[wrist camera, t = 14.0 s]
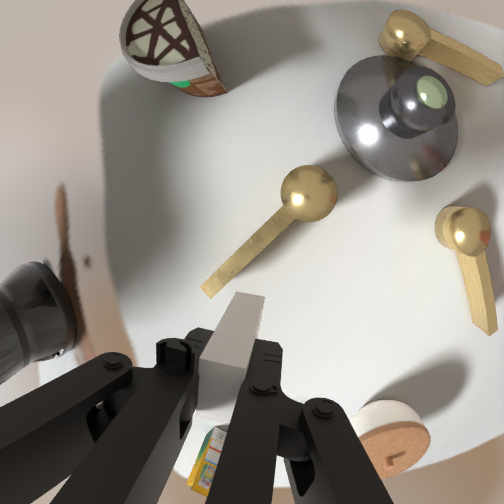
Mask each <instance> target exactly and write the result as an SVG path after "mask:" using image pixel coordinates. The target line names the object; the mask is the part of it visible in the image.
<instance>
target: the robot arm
mask: <svg viewBox="0 0 504 504" xmlns="http://www.w3.org/2000/svg"><path fill="white" fill-rule="evenodd" d="M264 299H265V297H263V296H258V295H252V294H247V293H242V292H236V293H235V295H234V297H233V299H232V300H231V302H230V304H229V306H228V308H227V309H226V311H225V313H224V315H223V317H222V318H221V320H220V322H219V324H218V326H217V327H216V329H215V331H211V330H207V329H203V328H196V329H194V330H192V331H190V332H189V333H188V334H187V336H186V337H185V339H184V340H183V339H178V338H167V339H163V340H160V341H159V342H157V343H156V362H157V364H156V365H155V366H154V368H141V367H133V366H132V362H131V359H130V358H128V356H126V355H124V354H121V353H117V352H108V353H104V354H101V355H99V356H97V357H95V358H93V359H92V360H90V361H88V362H86V363H84V364H82V365H80V366H78V367H77V368H75V369H73V370H71V371H69V372H67V373H65V374H63V375H62V376H60V377H58V378H56V379H54V380H52V381H50V382H48V383H46V384H44V385H43V386H41V387H39V388H37V389H35V390H33V391H31V392H29V393H27V394H25V395H23V396H21V397H19V398H18V399H16V400H14V401H12V402H10V403H8V404H6V405H4V406H2V407H0V504H30V503H32V502H33V501H35V500H36V499H38V498H39V497H41V496H42V495H43V494H45V493H46V492H48V491H49V490H51V489H52V488H53V487H55V486H56V485H58V484H59V483H60V482H62V481H63V480H64V479H66V478H67V477H68V476H70V475H71V474H72V475H71V476H70V477H69V479H68V480H67V481H66V483H65V484H64V485H63V487H62V488H61V489H60V491H59V492H58V493H57V495H56V496H55V497H54V499H53V500H52V501H51V503H50V504H157V502H158V500H159V497H160V495H161V493H162V491H163V489H164V486H165V484H166V482H167V480H168V478H169V476H170V473H171V471H172V469H173V467H174V464H175V462H176V460H177V458H178V455H179V453H180V451H181V449H182V446H183V444H184V442H185V440H186V437H187V435H188V433H189V431H190V428H191V426H192V416H193V413H194V411H195V409H196V416H198V417H202V418H206V419H210V420H214V421H218V422H223V423H227V424H229V427H228V431H227V434H226V437H225V441H224V444H223V447H222V451H221V454H220V457H219V461H218V464H217V467H216V470H215V474H214V477H213V480H212V483H211V486H210V490H209V493H208V496H207V499H206V502H205V504H271V502H272V494H273V485H274V476H275V467H276V457H277V455H278V456H281V457H283V458H284V463H285V467H286V471H287V475H288V478H289V482H290V486H291V490H292V494H293V497H294V501H295V504H394V503H393V501H392V499H391V498H390V496H389V494H388V492H387V490H386V488H385V487H384V484H383V483H382V481H381V479H380V477H379V475H378V473H377V471H376V469H375V468H374V466H373V464H372V462H371V460H370V458H369V456H368V454H367V453H366V451H365V449H364V447H363V445H362V443H361V441H360V440H359V438H358V436H357V434H356V432H355V430H354V428H353V427H352V425H351V423H350V421H349V419H348V417H347V416H346V414H345V412H344V410H343V409H342V407H341V406H340V405H339V404H338V403H336V402H334V401H333V400H330V399H326V398H313V399H310V400H308V401H306V402H305V404H302V403H299V402H297V401H294V400H292V399H290V398H289V397H287V396H286V395H285V394H284V393H283V392H282V390H281V386H280V381H281V368H282V353H283V349H282V348H281V346H280V345H279V343H277V342H271V341H266V340H260V339H257V338H258V332H259V327H260V321H261V316H262V310H263V304H264ZM75 340H76V321H75V316H74V312H73V309H72V305H71V303H70V300H69V298H68V296H67V293H66V291H65V289H64V288H63V286H62V284H61V283H60V281H59V280H58V278H57V277H56V276H55V274H54V273H53V272H52V271H51V270H50V269H49V268H48V267H46V266H45V265H43V264H41V263H39V262H30V263H26V264H23V265H21V266H19V267H17V268H16V269H15V270H14V271H13V272H12V273H10V275H8V276H7V277H6V278H5V279H4V280H3V281H2V282H1V283H0V385H1V384H2V383H3V382H5V381H6V380H8V379H9V378H10V377H12V376H13V375H14V374H16V373H17V372H19V371H20V370H21V369H23V368H24V367H26V366H27V365H29V364H30V363H34V362H40V361H45V360H50V359H54V358H58V357H61V356H62V355H64V354H65V353H66V352H68V351H69V350H70V349H71V348H72V347H73V345H74V343H75ZM100 402H102V403H101V404H100V405H97V404H99V403H100ZM96 405H97V406H96Z"/></svg>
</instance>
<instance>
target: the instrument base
mask: <svg viewBox="0 0 504 504" xmlns="http://www.w3.org/2000/svg"><path fill="white" fill-rule="evenodd" d="M379 43H380V46H381V48H382V49H383V50H384V52H385V53H386V54H387V55H389V56H384V55H380V56H373V57H369V58H366V59H363V60H361V61H359V62H358V63H356V64H355V65H353V66H352V67H351V68H350V69H349V70H348V71H347V73H346V74H345V75H344V77H343V79H342V81H341V83H340V86H339V88H338V91H337V94H336V98H335V103H334V114H335V121H336V126H337V129H338V132H339V134H340V137H341V139H342V141H343V143H344V144H345V146H346V148H347V149H348V151H349V152H350V153H351V154H352V156H353V157H354V158H355V159H356V160H357V161H358V162H359V163H360V164H361V165H362V166H364V167H365V168H366V169H367V170H369V171H371V172H372V173H374V174H376V175H378V176H380V177H382V178H385V179H388V180H392V181H397V182H411V181H420V180H425V179H428V178H430V177H433V176H435V175H436V174H438V173H439V172H441V171H442V170H443V169H444V168H445V167H446V166H447V164H448V163H449V162H450V160H451V158H452V157H453V154H454V152H455V149H456V145H457V139H458V125H457V119H456V115H455V100H454V96H453V93H452V91H451V89H450V87H449V85H448V84H447V82H446V81H445V80H444V79H443V78H442V77H441V76H440V75H439V74H438V73H436V72H435V71H433V70H431V69H429V68H426V67H422V66H418V65H416V64H414V63H412V62H410V61H411V60H413V59H414V58H415V56H416V55H420V56H423V57H425V58H428V59H430V60H433V61H435V62H438V63H440V64H442V65H445V66H447V67H449V68H451V69H453V70H456V71H458V72H460V73H462V74H464V75H466V76H468V77H470V78H472V79H474V80H476V81H478V82H479V83H481V84H483V85H485V86H487V85H489V84H491V83H493V82H495V81H496V80H498V79H500V78H502V77H504V76H503V70H502V66H500V65H499V64H497V63H495V62H494V61H492V60H490V59H489V58H487V57H485V56H484V55H482V54H480V53H478V52H477V51H475V50H473V49H471V48H469V47H467V46H465V45H463V44H461V43H459V42H457V41H455V40H453V39H451V38H449V37H447V36H445V35H442V34H440V33H438V32H436V31H433V30H431V29H429V27H428V25H427V24H426V23H425V21H424V20H423V19H421V18H420V17H419V16H418V15H416V14H414V13H412V12H410V11H407V10H395V11H393V12H392V13H391V15H390V17H389V19H388V21H387V23H386V25H385V27H384V29H383V31H382V33H381V35H380V37H379Z"/></svg>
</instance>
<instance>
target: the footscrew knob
mask: <svg viewBox="0 0 504 504" xmlns="http://www.w3.org/2000/svg"><path fill="white" fill-rule="evenodd" d="M281 199H282V203H283V206H282V207H281V208H280V209H279V210H278V211H277V212H276V213H275V214H274V215H273V216H272V217H271V218H270V219H269V220H268V221H267V222H266V223H265V224H264V225H263V226H262V227H261V228H260V229H259V230H258V231H257V232H255V233H254V234H253V235H252V236H251V237H250V238H249V239H248V240H247V241H246V242H245V243H244V244H243V245H242V246H241V247H240V248H239V249H238V250H237V251H236V252H235V253H234V254H233V255H232V256H231V257H230V258H229V259H228V260H227V261H226V262H225V263H224V264H223V265H222V266H221V267H220V268H219V269H218V270H217V271H215V272H214V273H213V274H212V275H211V276H210V277H209V278H208V279H207V280H206V281H205V282H204V283H203V284H202V285H201V286H200V288H201V289H202V290H203V291H204V292H205V293H206V294H207V295H208V296H209V297H210V298H212V297H213V296H214V295H215V294H217V293H218V292H219V291H220V290H221V289H222V288H223V287H224V286H225V285H226V284H227V283H228V282H229V281H230V280H231V279H233V278H234V277H235V276H236V275H237V274H238V273H239V272H240V271H241V270H242V269H243V268H244V267H245V266H246V265H247V264H248V263H249V262H251V261H252V260H253V259H254V258H255V257H256V256H257V255H258V254H259V253H260V252H261V251H262V250H263V249H264V248H265V247H266V246H267V245H269V244H270V243H271V242H272V241H273V240H274V239H275V238H276V237H277V236H278V235H279V234H280V233H281V232H282V231H283V230H284V229H285V228H286V227H288V226H289V225H290V224H291V223H292V222H293V221H294V220H295V219H298V220H301V221H306V222H313V221H318V220H321V219H323V218H324V217H326V216H327V215H328V214H329V213H330V212H331V211H332V210H333V208H334V206H335V204H336V200H337V188H336V184H335V182H334V180H333V178H332V177H331V176H330V175H329V174H328V173H327V172H326V171H325V170H323V169H321V168H319V167H317V166H312V165H305V166H300V167H298V168H295V169H294V170H292V171H291V172H290V173H289V174H288V175H287V176H286V177H285V179H284V181H283V183H282V187H281Z"/></svg>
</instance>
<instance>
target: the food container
mask: <svg viewBox="0 0 504 504" xmlns="http://www.w3.org/2000/svg"><path fill="white" fill-rule="evenodd" d="M119 38H120V44H121V49H122V52H123V55H124V56H125V58H126V59H127V61H128V62H129V64H130V65H131V67H132V68H133V69H134V70H135V71H136V72H137V73H138V74H140V75H142V76H143V77H145V78H148V79H151V80H154V81H160V82H169V83H171V84H172V85H174V86H176V87H177V88H179V89H181V90H182V91H184V92H186V93H188V94H190V95H193V96H198V97H213V96H218V95H222V94H225V93H228V92H227V89H226V87H225V84H224V82H223V79H222V77H221V74H220V71H219V69H218V66H217V64H216V61H215V59H214V56H213V54H212V51H211V49H210V46H209V44H208V42H207V39H206V37H205V34H204V32H203V30H202V28H201V27H200V25H199V23H198V22H197V20H196V19H195V17H194V15H193V14H192V12H191V11H190V9H189V7H188V6H187V4H186V3H185V1H184V0H135V1H134V3H133V4H132V5H131V6H130V8H129V10H128V11H127V13H126V14H125V17H124V18H123V21H122V24H121V27H120V33H119Z"/></svg>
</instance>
